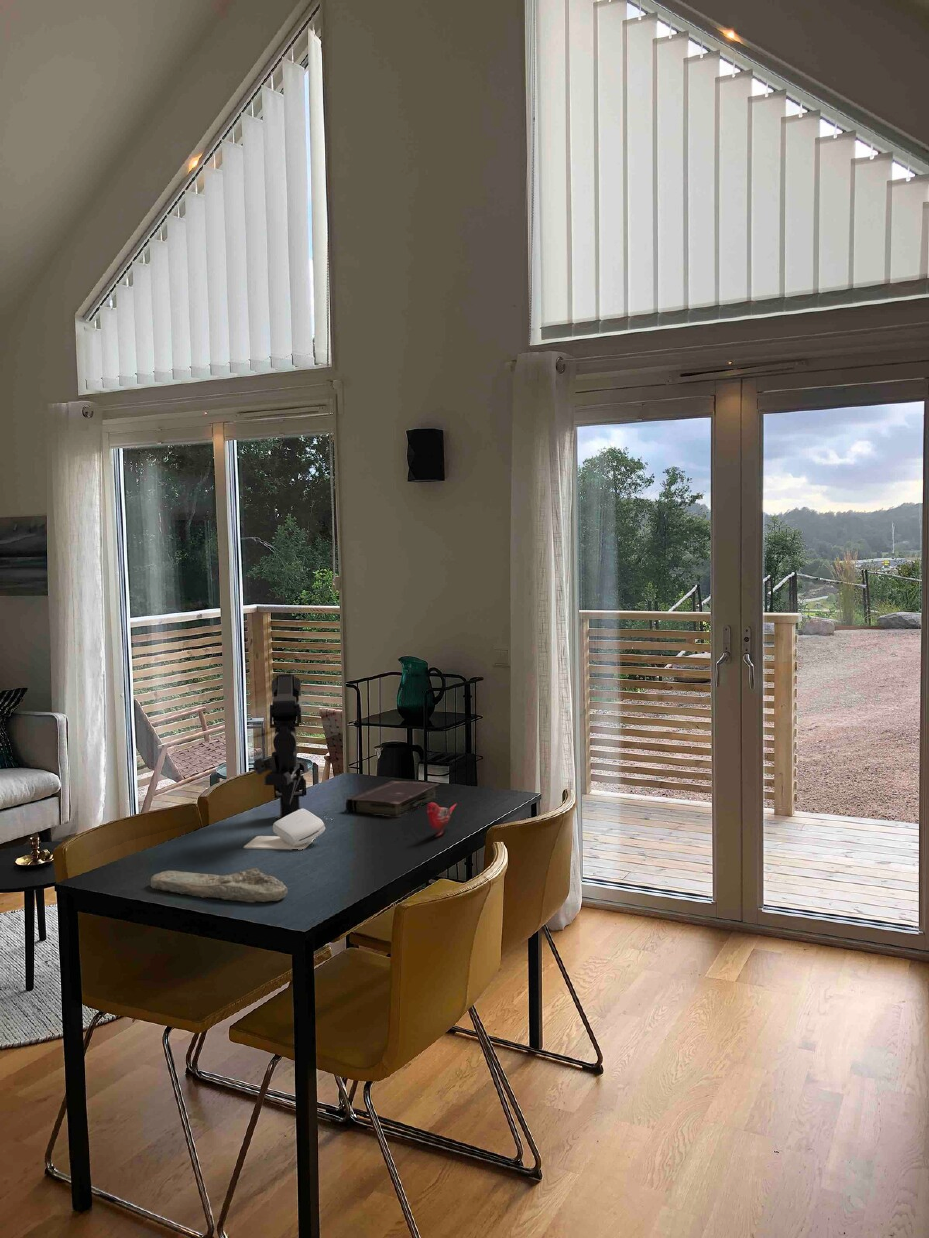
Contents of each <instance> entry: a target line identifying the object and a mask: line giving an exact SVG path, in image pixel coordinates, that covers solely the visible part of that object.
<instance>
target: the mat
mask: <svg viewBox="0 0 929 1238" xmlns="http://www.w3.org/2000/svg"><path fill="white" fill-rule="evenodd" d="M314 839H315V840H316V838H314ZM314 839H312V840H311V841H309V842H307V843H304V844H302V845H299V846H295V847H293V846H292V845H290V844H289V843H287V842H286V841H285V840H283V839H282V838H280V837H279V836H275V835H273V836H272V835H271V836H270V835H257V836H255V838H253V839H252V840H250V841H249V842H248V843H247V844H246V845H245V844H244V846H243V849H252V850H253V849H254V850H255V849H259V850H292V849H298V850H301V851H303V850H305V849H306V848H307V847H308V846H310V844H311V843H313V840H314ZM315 840H314V841H315ZM302 849H303V850H302Z"/></svg>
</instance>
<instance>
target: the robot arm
mask: <svg viewBox="0 0 929 1238" xmlns="http://www.w3.org/2000/svg"><path fill="white" fill-rule="evenodd" d="M301 681H302V680H301V679H300V678H298V677H296V676H295V674H293V673H279V674H276V677H275V678H273V679H272V680H271V681H270V682H271V683H270V685H271V690H270V691H271V697H272V701H271V702H272V703H271V704H269V728H270V729H274V730H273V731H274V733H273V734H274V737H273V741H272V745H273V748H274V750H273V751H272V753H271V756H269V757H266V758H262V757H260V758H257V759H255V760H254V763H253V764H252V766H253V768H252V770H253V771H255V772H256V774H257V775H258V776H259V775H262V774H263V773H266V772H268V771H269V772H268V773H267V774H266V775H265V776H264V778H263V782H264V785H265V786H273V791H274V792H273V793H274V799H278V798H279V814H278V815H277V816H276V817H275V819H276V820H280V819H282V818H283V817H285V816H287V815H289V814H291V813H293V812H295V811H297V810H299V809H301V803H300V801H301V799H300V797H305V796H307V780H306V779H305V777H304V775H302V773H307V772H308V771H309V765H308V763H307V762H306V761H305V760H298V754H300V748H297V747H298V745H297V743H298V742H297V728H300V724H302V722H303V721H302V707H301V706H300V697H301V696H302V684H301V683H302V682H301ZM264 785H263V786H264Z"/></svg>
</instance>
